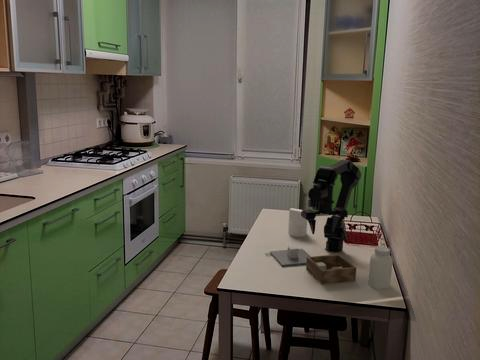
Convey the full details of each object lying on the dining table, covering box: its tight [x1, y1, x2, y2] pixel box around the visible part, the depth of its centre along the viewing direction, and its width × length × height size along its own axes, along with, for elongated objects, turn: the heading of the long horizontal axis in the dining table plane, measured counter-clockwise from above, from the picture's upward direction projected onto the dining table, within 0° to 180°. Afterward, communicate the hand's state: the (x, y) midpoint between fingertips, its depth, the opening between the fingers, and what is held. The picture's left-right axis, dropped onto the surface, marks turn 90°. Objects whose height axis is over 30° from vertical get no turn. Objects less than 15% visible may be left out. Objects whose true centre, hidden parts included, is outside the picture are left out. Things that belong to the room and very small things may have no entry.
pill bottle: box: [367, 245, 394, 290], centre depth 172 cm, size 8×8×15 cm
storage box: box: [305, 253, 357, 285], centre depth 181 cm, size 14×14×6 cm
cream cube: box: [316, 262, 326, 270], centre depth 183 cm, size 4×4×4 cm
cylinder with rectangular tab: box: [287, 207, 308, 238], centre depth 229 cm, size 9×9×12 cm
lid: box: [269, 245, 312, 267], centre depth 196 cm, size 15×15×5 cm
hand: (323, 233), depth 195 cm, fingers open, 9 cm apart
